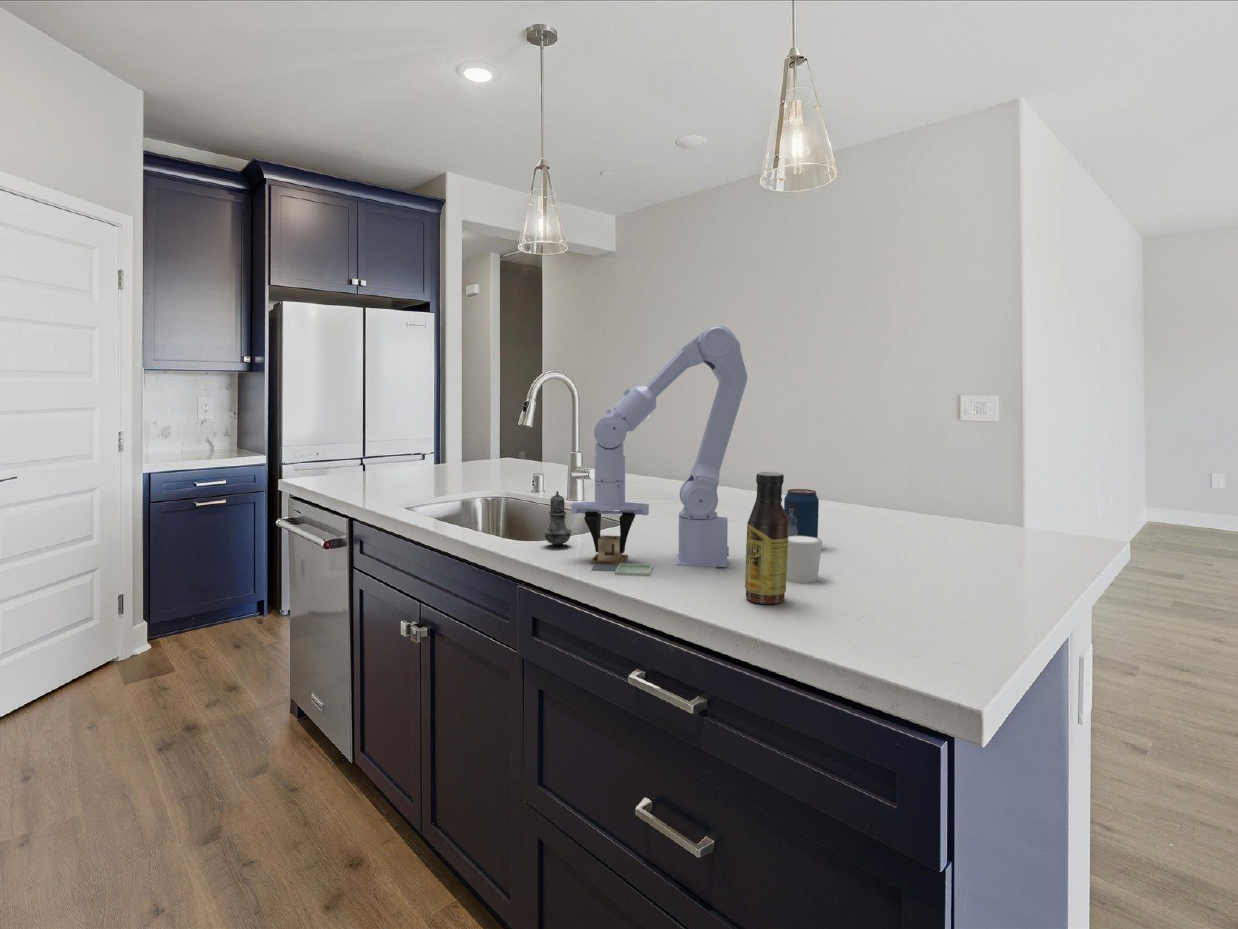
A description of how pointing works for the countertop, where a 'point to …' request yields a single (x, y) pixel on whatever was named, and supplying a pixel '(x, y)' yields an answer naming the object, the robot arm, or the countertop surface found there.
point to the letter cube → (609, 548)
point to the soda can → (802, 512)
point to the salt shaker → (557, 524)
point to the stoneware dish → (634, 569)
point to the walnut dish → (622, 560)
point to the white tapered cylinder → (803, 558)
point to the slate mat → (604, 567)
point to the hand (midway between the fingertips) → (610, 551)
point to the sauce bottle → (767, 542)
